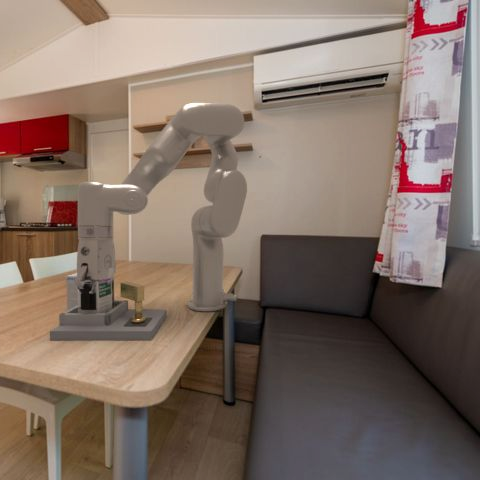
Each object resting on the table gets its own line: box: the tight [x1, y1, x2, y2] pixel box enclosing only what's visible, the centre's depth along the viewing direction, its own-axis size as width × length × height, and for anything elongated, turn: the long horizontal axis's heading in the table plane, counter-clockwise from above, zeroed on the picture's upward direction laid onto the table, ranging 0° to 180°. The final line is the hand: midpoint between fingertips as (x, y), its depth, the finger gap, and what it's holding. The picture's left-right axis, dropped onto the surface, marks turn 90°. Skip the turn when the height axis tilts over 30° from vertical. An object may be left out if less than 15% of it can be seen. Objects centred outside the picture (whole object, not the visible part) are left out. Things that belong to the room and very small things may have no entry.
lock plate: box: [49, 299, 168, 341], centre depth 60 cm, size 22×14×4 cm, turn 93°
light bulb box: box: [65, 272, 78, 311], centre depth 74 cm, size 11×7×11 cm, turn 4°
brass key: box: [120, 281, 146, 323], centre depth 60 cm, size 3×8×8 cm, turn 57°
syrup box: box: [78, 267, 115, 313], centre depth 61 cm, size 6×6×14 cm
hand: (96, 304), depth 61 cm, fingers closed on syrup box, 6 cm apart
